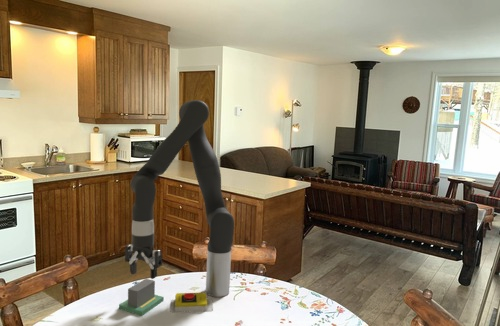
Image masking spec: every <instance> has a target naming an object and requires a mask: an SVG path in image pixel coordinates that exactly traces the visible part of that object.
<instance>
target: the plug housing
mask: <svg viewBox="0 0 500 326" xmlns="http://www.w3.org/2000/svg"><path fill="white" fill-rule="evenodd" d="M155 285H156V280H154V279H149V278H144V279H143V280H141V281H139V282H137V283H136V284H134V285H133V286H131V287H129V288H127V300H128V305H129V306H132V307H135V308H138V307H139V306H141V305H142V304H144V303H145V302H147V301H148V300H150V299H151V298H153V297H154V296H155V295H156V294H155V293H156V292H155V291H156V289H155V288H156V287H155Z"/></svg>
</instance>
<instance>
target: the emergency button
mask: <svg viewBox="0 0 500 326" xmlns="http://www.w3.org/2000/svg"><path fill="white" fill-rule="evenodd" d="M169 311H170V313H172V314H173V313H174V314H178V313H200V312H203V313H204V312H212V311H214V307H213V300H212V298H207V293H206V292H177V293H175V298H174V299H172V300H171V301H170V309H169Z"/></svg>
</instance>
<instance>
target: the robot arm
mask: <svg viewBox="0 0 500 326" xmlns="http://www.w3.org/2000/svg"><path fill="white" fill-rule="evenodd" d="M178 114H179V115H178V116H179V119H180V120H179V122H178V123H177V125H176V127H175V128H174V129H173V131H171V133H170V134H169V135H167V137H166V138H165V139H164V140H163V141H162V142H161V143H160V144H159V145H158V147H157V148H155V150H154V151H153V152H152V154H151V156H150V158H149V159H148V160H147V161H146V163H145V164H143V165H142V166H141V168H140V169H139V170H138V171H137V172H136V173H135V174H134V175H133V177H132V178H131V180H130V188H131V190H132V192H133V193H134V195H135V196H134V203H133V205H132V216H131V217H132V222H131V243H130V244H127V245H125V248H124V261H125V262H126V263H128V264H129V269H130V270H129V271H130V274H131V275H136V274H137V261H138V260H139V261H142V262H146V264H147V265H148V266H149V268H150V280H154V279H156V278H157V275H158V268H160V267H162V266H163V260H162V259H163V257H162V256H163V255H162V253H163V252H162V250H161V249H158V250H157V249H154V245H155V221H154V205H155V198H156V183H155V181H156V179H157V178H158V177H159V176H162V175H163V174H164V173H165V172H166V171H167V170H168V168H169V167H170V166H171V164H172V163H173V161H174V160H175V158H176V157H177V155H178V154H179V153H180V151H181V150H182V149H183V147H184V146H185V145H186V144H187V143H188V148H189V153H190V155H191V160H192V165H193V169H194V174H195V177H196V179H197V183H198V186H199V190H200V192H201V196H202V198H203V202H204V208H205V209H204V210H205V216H206V222H207V225H208V226H209V228H210V229H209V241H208V242H207V247H206V248H207V250H206V251H207V253H206V254H207V256H206V277H205V278H206V280H205V293H206V295H208V296H209V297H218V298H220V297H226V296H227V295H229V294H230V286H231V285H230V284H231V282H230V281H231V261H232V258H231V257H232V246H233V243H234V234H235V233H234V232H235V218H234V217H233V214H232V213H230V212H229V211H228V209H227V207H226V204H225V200H224V198H223V193H222V174H221V169H220V166H219V165H220V164H219V162H218V158H217V155H216V153H215V150H214V149H213V147H212V145H211V144H210V142H209V140H208V137H207V135H206V130H205V125H204V124H205V123H206V122H207V121H208V118H209V116H210V110H209V106H208V105H207V103H205V102H204V101H203V100H198V99H194V100H188V101H186V102H184V103H182V104H181V106H180V107H179V112H178Z"/></svg>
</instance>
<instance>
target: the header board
mask: <svg viewBox="0 0 500 326" xmlns="http://www.w3.org/2000/svg"><path fill="white" fill-rule="evenodd" d="M162 302H164V296H161V295H158V294H155V296H154V297H153V298H151V299H150V300H148V301H147V302H145V303H144V304H142V305H141V306H139V307H138V308H135V307H132V306H129V305H128V299H126V300H124V301H123V302H121V303H119V304H118V305H119V307H118V309H119V310H121V311H125V312H128V313H132V314H135V315H138V316H141V317H143V316H145V315H146V314H147V313H149V312H150V311H151V310H153V309H154V308H155V307H157V306H158V305H160V304H161V303H162Z"/></svg>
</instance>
